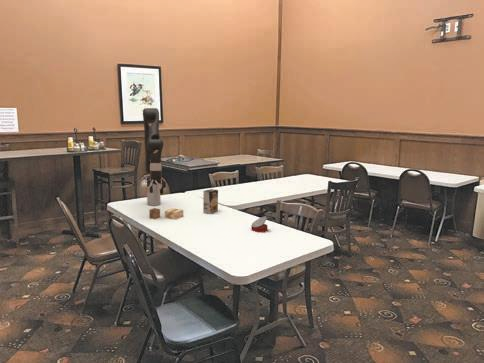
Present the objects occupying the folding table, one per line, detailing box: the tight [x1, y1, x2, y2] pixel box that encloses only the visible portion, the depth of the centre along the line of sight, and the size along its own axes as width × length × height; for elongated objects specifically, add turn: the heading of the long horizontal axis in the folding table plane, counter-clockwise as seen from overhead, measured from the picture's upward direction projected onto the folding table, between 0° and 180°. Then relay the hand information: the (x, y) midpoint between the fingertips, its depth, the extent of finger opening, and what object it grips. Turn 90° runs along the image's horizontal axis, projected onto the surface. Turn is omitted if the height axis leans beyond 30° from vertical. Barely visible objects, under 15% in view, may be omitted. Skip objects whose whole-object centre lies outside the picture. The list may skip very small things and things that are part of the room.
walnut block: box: [148, 208, 161, 220], centre depth 274 cm, size 5×5×6 cm
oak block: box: [164, 208, 184, 220], centre depth 276 cm, size 9×9×5 cm
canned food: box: [250, 216, 268, 233], centre depth 249 cm, size 11×10×10 cm
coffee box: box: [202, 189, 219, 215], centre depth 290 cm, size 9×6×16 cm
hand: (156, 193), depth 272 cm, fingers open, 8 cm apart
